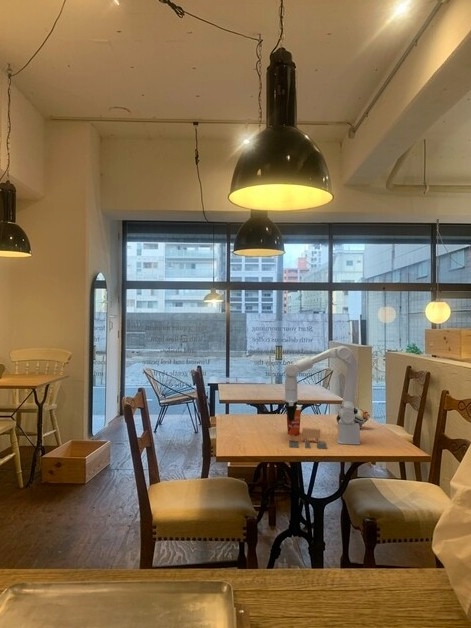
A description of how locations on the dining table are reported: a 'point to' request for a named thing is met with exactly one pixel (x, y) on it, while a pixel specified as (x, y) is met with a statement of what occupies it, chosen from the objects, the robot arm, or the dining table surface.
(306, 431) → the tan rectangular block
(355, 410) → the lucky cat figurine
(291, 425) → the paper cup
